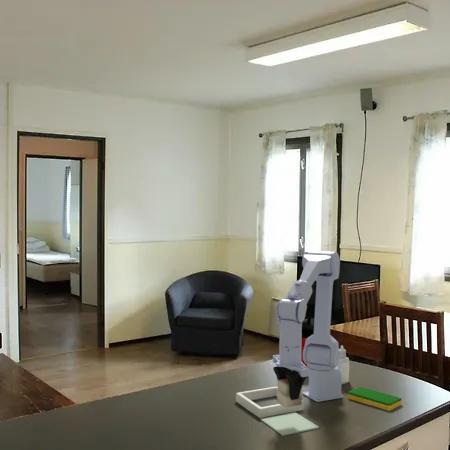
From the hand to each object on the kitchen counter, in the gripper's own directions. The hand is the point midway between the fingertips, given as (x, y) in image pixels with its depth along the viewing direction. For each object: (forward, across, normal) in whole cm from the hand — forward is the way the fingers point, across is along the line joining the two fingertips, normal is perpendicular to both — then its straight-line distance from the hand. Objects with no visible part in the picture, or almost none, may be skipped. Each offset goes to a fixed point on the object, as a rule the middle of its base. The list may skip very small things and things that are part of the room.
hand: (289, 396), depth 150 cm
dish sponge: (+8, -4, +32) cm, 33 cm away
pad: (+8, 0, 0) cm, 8 cm away
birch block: (+2, 0, 0) cm, 2 cm away
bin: (+8, -14, +2) cm, 16 cm away
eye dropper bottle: (+8, -22, +34) cm, 41 cm away
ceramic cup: (+8, -37, +29) cm, 48 cm away
